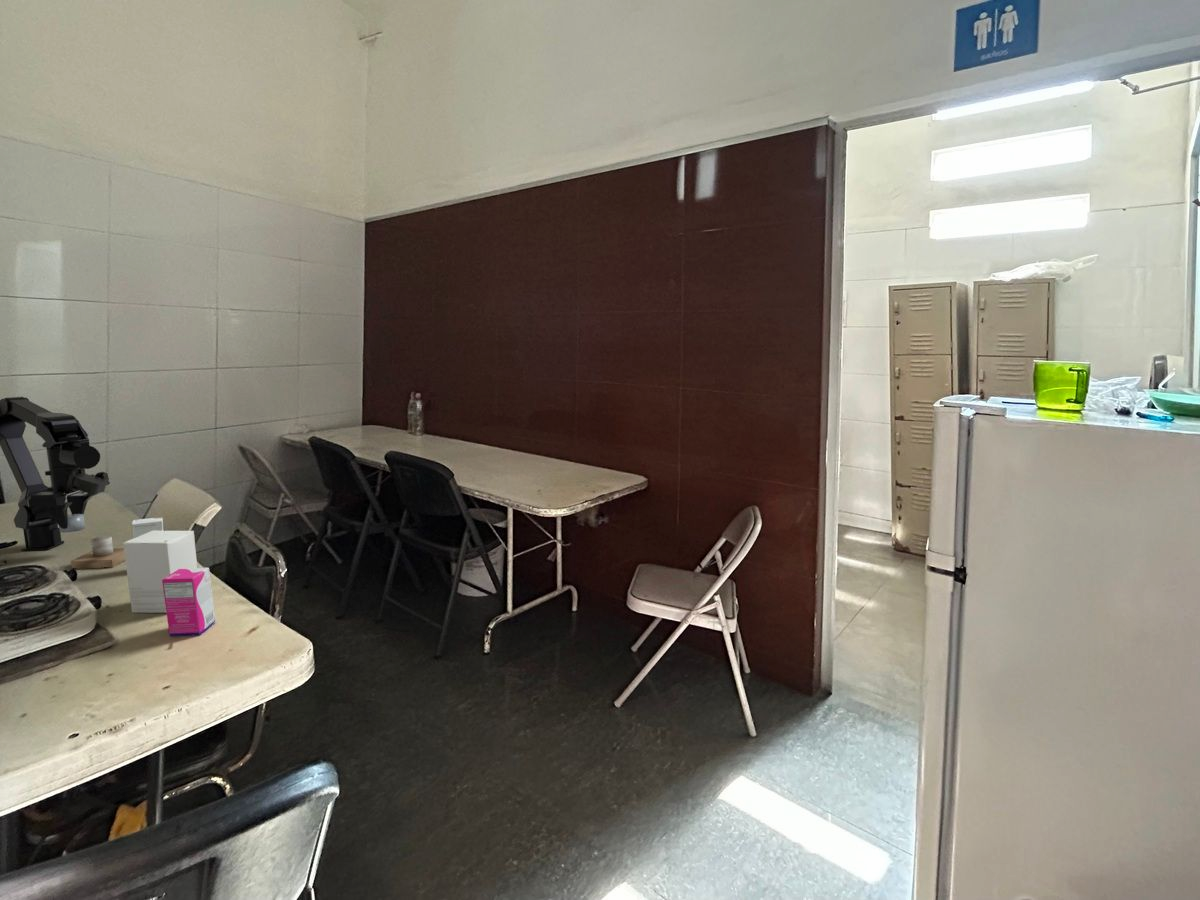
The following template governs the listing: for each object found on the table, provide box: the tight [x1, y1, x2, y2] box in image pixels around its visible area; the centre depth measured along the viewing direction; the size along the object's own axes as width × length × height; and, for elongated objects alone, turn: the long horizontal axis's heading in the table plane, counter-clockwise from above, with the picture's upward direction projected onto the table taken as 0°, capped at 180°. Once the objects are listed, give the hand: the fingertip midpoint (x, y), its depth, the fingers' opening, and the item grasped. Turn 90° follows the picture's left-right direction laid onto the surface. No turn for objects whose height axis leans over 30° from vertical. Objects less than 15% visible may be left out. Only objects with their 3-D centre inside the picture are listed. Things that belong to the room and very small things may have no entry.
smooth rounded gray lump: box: [58, 513, 86, 533], centre depth 160 cm, size 5×5×4 cm
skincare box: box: [131, 516, 164, 539], centre depth 151 cm, size 6×4×12 cm
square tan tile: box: [70, 535, 126, 570], centre depth 155 cm, size 9×9×6 cm
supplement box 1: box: [122, 530, 198, 614], centre depth 130 cm, size 9×9×15 cm
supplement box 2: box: [162, 567, 216, 637], centre depth 119 cm, size 6×6×12 cm
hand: (71, 525), depth 160 cm, fingers closed on smooth rounded gray lump, 5 cm apart
